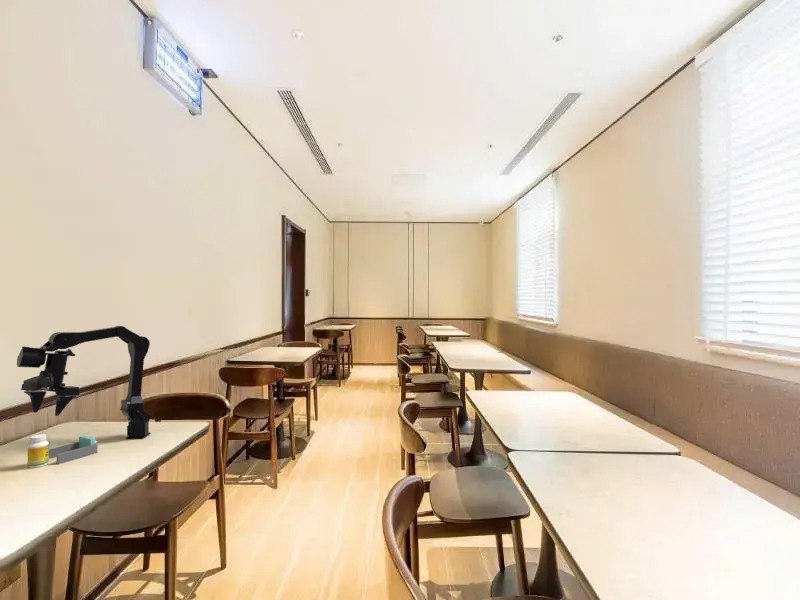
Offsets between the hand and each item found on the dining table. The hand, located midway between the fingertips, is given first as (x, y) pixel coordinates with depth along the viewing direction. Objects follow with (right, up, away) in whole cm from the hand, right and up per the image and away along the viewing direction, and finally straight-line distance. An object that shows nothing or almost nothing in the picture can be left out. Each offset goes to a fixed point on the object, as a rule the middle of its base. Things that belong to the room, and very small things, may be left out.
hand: (46, 414), depth 151 cm
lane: (+8, -15, +2) cm, 17 cm away
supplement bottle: (+3, -15, -7) cm, 17 cm away
